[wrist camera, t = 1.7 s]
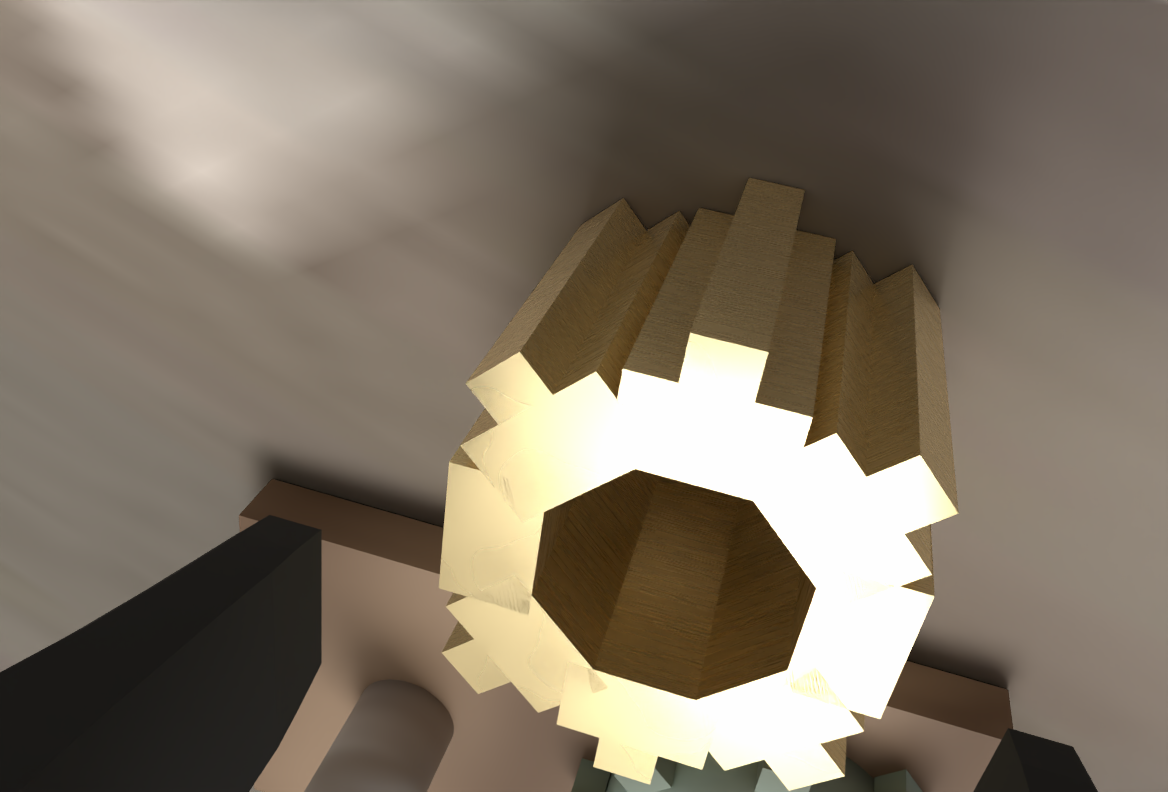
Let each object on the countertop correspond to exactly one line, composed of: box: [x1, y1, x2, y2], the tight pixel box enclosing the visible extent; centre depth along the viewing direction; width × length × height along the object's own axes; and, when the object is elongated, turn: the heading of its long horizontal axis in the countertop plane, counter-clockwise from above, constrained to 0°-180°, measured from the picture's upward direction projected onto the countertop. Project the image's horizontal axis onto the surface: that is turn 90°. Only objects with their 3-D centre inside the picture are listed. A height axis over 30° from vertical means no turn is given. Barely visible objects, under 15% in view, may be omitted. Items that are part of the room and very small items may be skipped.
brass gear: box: [439, 178, 959, 791], centre depth 14 cm, size 6×7×5 cm
